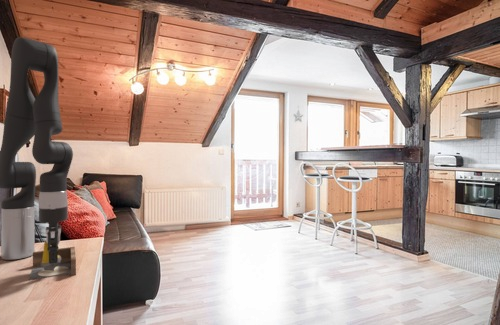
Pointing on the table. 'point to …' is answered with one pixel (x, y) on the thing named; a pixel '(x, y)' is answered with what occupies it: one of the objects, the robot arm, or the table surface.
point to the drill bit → (45, 259)
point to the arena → (62, 269)
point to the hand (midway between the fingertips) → (53, 259)
